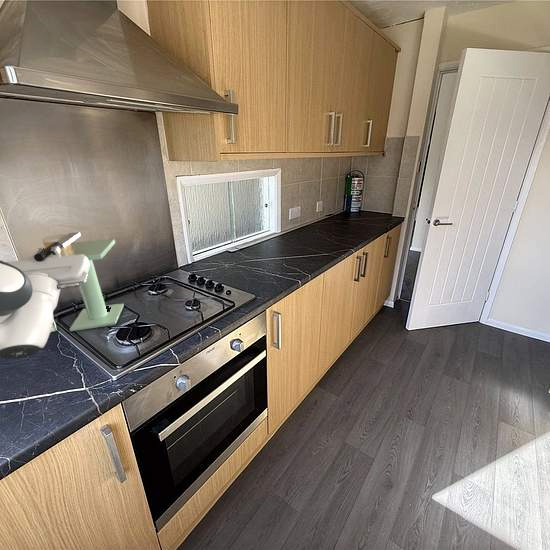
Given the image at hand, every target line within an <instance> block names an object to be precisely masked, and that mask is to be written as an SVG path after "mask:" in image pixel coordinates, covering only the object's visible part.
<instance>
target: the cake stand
mask: <svg viewBox="0 0 550 550" xmlns="http://www.w3.org/2000/svg"><path fill="white" fill-rule="evenodd" d="M66 235H67V234H62V233H60V234H54V235H53V234H52V235H48V236H45V237H43V238H42V239H41V240H42V243H43V246H44V249H45V248H46V247H48V246H49V245H51V244H53V243H54V242H57V241H58V240H60V239H61V238H63V237H64V236H66ZM115 244H116V240H115V238H110V239H109V238H108V239H99V240H98V239H97V240H88V241H86V240H85V241H77V242H75V241H74V242H72V243H70V244H69V245H68V246H66V247H65V248H60V250H61V252H60V255H61V256H69V255H79V254H83V255H85V256H86V257H87V258H88V260H89V262H90V268H89V272H88V274H87V281H86V282H85V283H83V284H81V285H80V286H78V290H79V292H80V296H81V298H82V302H83V305H84V308H82V310H81V312H80V313H79V314H78V316H77V317H76V319H75V320H74V322H73V323H72V325H70V327H69V332H76V331H82V330H90V329H95V328H102V327H109V326H115V325H117V324H118V323H117V322H118V320H119V318H120V317H121V314H122V311H123V309H124V306H125V304H124V303H115V304H109V305H108V306H109V308H110V307H111V309H110V312H107V309H106V306H107V305H106V302H105V299H104V296H103V292H102V289H101V285H100V282H99V278H98V275H97V272H96V267H95V264H94V261H95V260H96V261H97V260H102V259H103V258H104V257H105V256H106V255H107V253H108V252H109V251H110V250H111V249H112V248H113V246H114V245H115ZM53 256H54V255H53V254H51V255H50V256H48V257H47V258H49V257H53Z"/></svg>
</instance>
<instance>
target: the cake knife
mask: <svg viewBox="0 0 550 550" xmlns="http://www.w3.org/2000/svg"><path fill="white" fill-rule="evenodd" d="M81 236H82V235H81V232H80V231H77V232H76V231H75V232H69V233H67V234H66V236H64V237H63V238H61V239H60V240H58V241H57V242H54V243H53V244H51V245H49V246H48V247H46V248H45V247H44V249H43V250H42V251H40V252H39V253H37V254H36V255H35V256H34V259H35V260H36V261H39V262H41V261H43V260H44V259H45V258H47V257H48V256H50V255H51V254H52V252H51V251H50V250H51V249H52V248H51V247H55V246H59V248H65V247H66V246H68V245H69V244H70V243H74V242H75V241H76V240H77V239H79V238H80V237H81Z"/></svg>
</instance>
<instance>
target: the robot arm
mask: <svg viewBox="0 0 550 550" xmlns="http://www.w3.org/2000/svg"><path fill="white" fill-rule="evenodd" d="M51 248H52V249H51V250H50V251H51V252H52V254H53V255H54V256H53V257H49V258H45V259H44V260H43V261H41V262H39V261H36V260H35V259H34V256H35V255H36V254H37V253H39V252H40V251H42V250H43V249H45V247H36V249H35V252H33V253H32V254H31V255H29V256H28V257H27V259H19V260H10V261H4V260H1V259H0V359H5V360H18V359H23V358H27V357H31V356H33V355H35V354H37V353H39V352H40V351H42V350H43V349H44V348H45V346H46V344H47V342H48V339H49V337H50V335H51V333H50V331H51V328H52V324H53V320H54V321H55V319H54V318H55V317H54V312H55V311H54V310H55V309H56V308H57V306H58V302H59V297H60V294H61V290H62V289H63V290H64V289H68V288H79V286H80V285H81V284H83V283H85V282H86V281H87V274H88V272H89V268H90V262H89V260H88V258H87V257H86V256H85V255H83V254H79V255H69V256H61V255H60V252H61V250H60V248H59V246H55V247H51Z"/></svg>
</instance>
